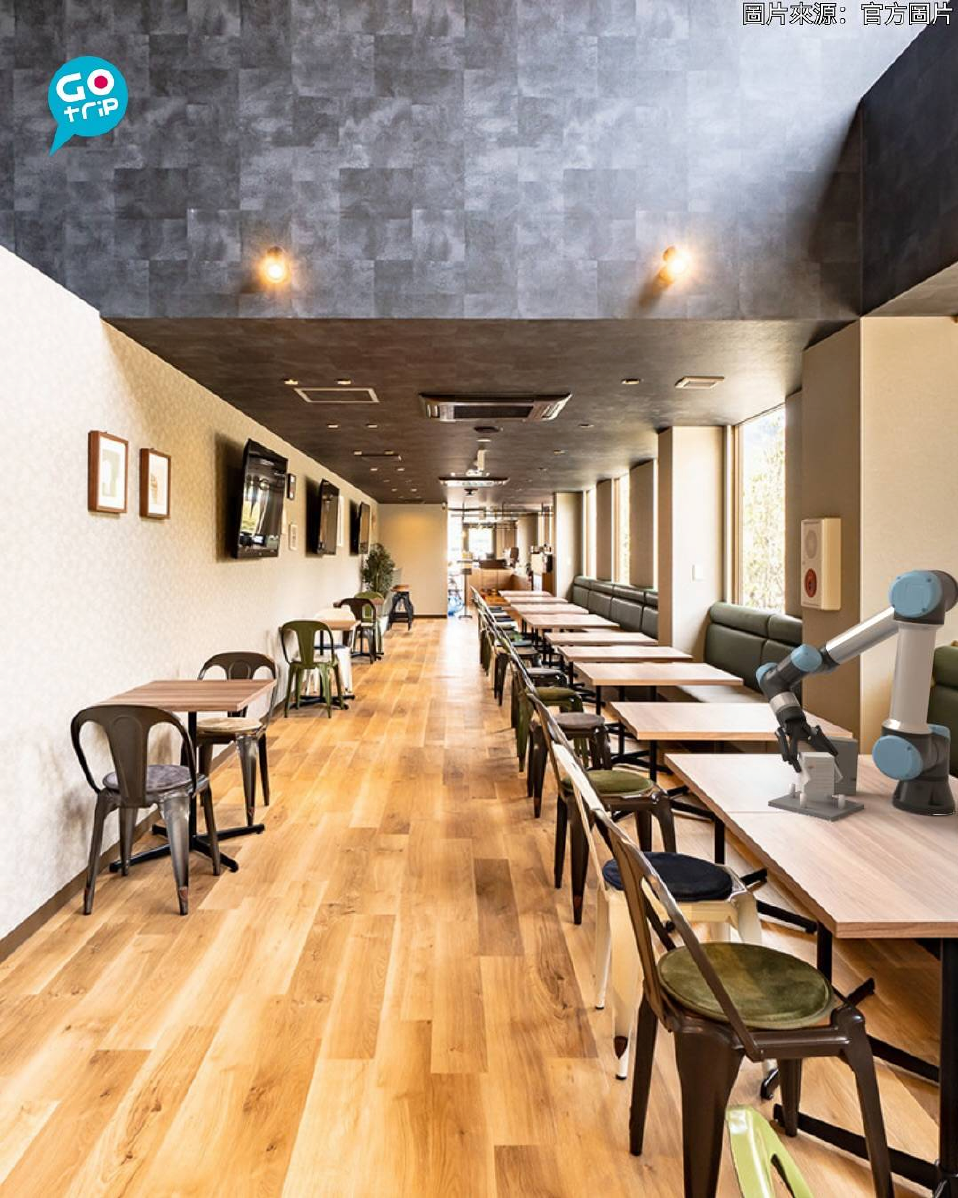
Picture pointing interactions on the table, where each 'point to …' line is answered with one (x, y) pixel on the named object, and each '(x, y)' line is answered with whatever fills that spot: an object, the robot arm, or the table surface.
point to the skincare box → (846, 764)
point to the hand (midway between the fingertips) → (823, 781)
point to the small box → (818, 773)
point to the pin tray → (816, 804)
